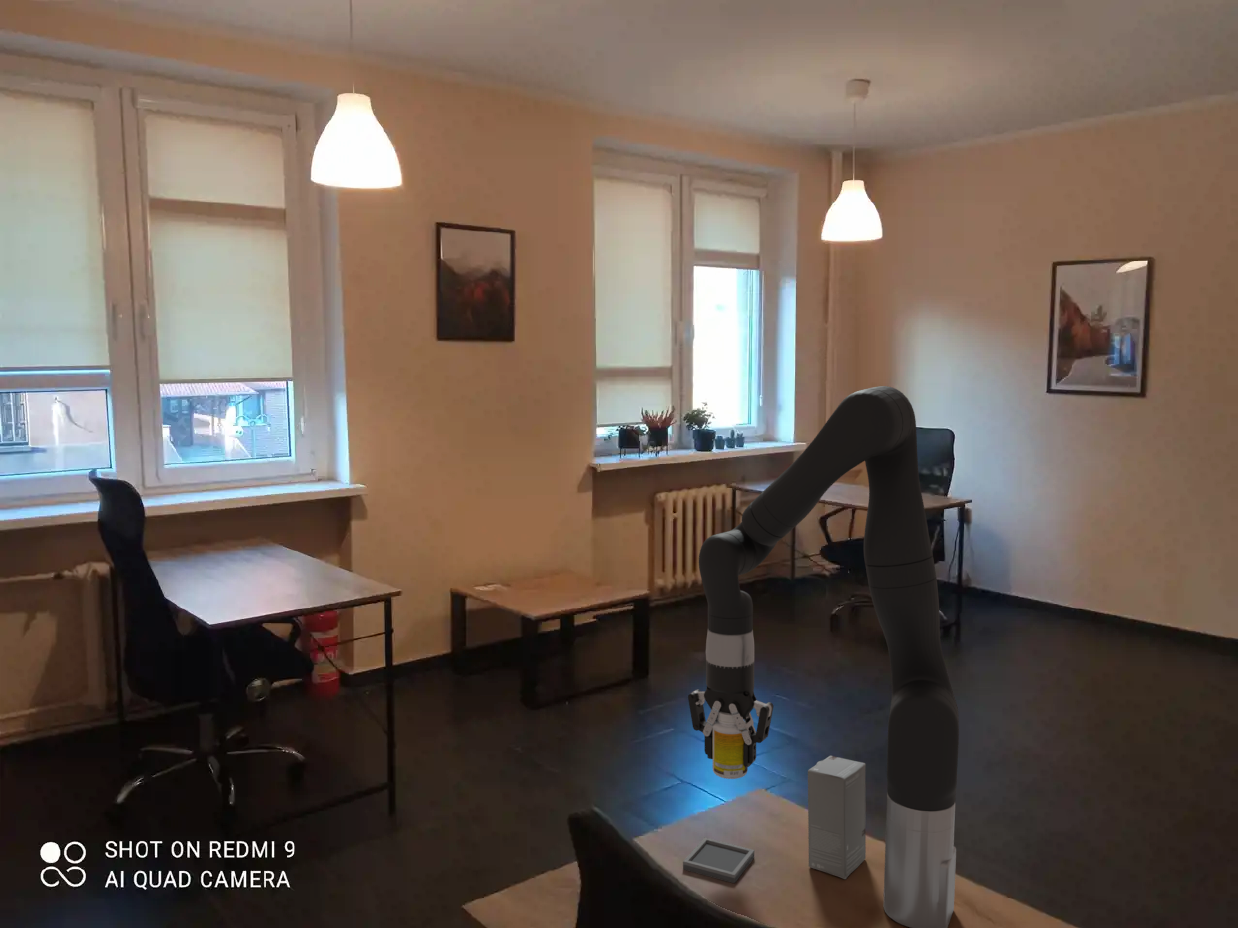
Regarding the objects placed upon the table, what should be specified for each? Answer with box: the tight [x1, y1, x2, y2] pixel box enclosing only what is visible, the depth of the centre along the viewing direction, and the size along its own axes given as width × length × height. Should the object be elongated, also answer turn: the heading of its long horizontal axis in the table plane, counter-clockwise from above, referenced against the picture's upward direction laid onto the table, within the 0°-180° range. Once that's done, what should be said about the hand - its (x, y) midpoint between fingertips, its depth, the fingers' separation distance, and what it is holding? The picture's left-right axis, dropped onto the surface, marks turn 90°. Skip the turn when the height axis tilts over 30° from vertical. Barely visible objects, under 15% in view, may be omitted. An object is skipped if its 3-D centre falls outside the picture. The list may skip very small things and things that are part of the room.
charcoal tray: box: [682, 837, 755, 884], centre depth 152 cm, size 8×8×1 cm
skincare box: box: [807, 755, 867, 880], centre depth 151 cm, size 8×7×16 cm
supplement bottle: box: [712, 712, 749, 780], centre depth 154 cm, size 6×6×10 cm
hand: (729, 760), depth 154 cm, fingers closed on supplement bottle, 5 cm apart
